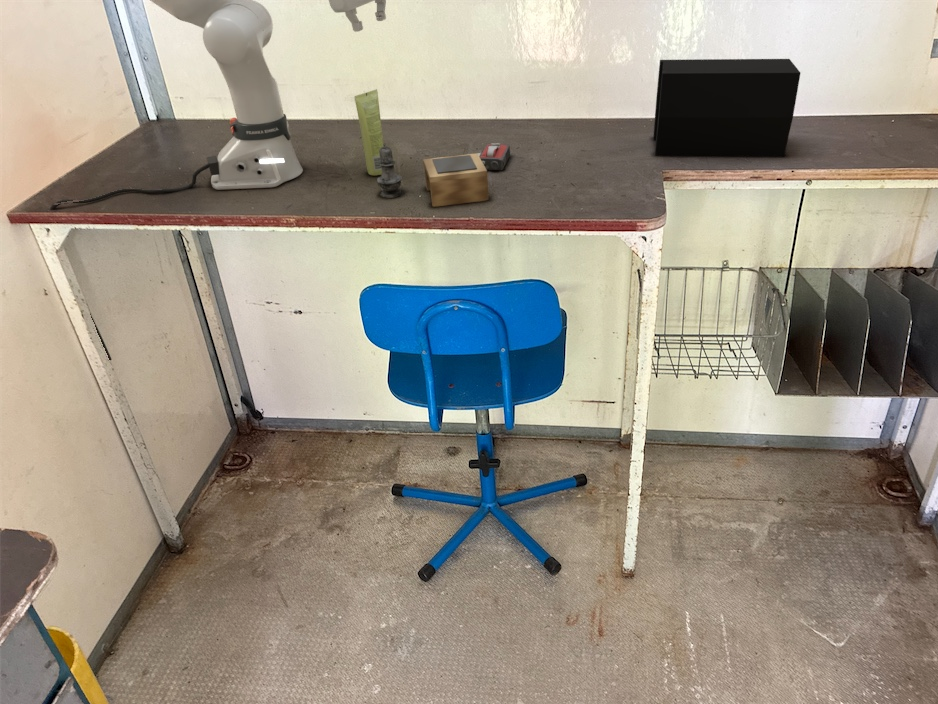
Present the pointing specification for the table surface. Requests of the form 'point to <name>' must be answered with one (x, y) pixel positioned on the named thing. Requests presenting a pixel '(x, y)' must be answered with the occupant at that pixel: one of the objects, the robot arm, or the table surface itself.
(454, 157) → the stand
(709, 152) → the uninterruptible power supply
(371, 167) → the tube
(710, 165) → the table surface
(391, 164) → the chess piece
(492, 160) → the walkie-talkie
